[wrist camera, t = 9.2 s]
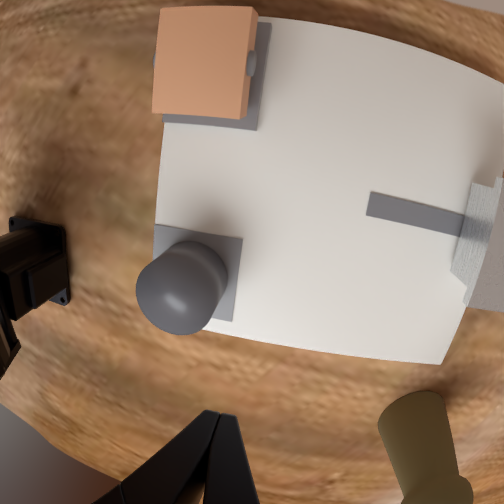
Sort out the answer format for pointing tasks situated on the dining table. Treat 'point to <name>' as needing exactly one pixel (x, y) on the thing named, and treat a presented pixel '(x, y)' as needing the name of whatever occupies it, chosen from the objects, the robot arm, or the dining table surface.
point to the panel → (336, 191)
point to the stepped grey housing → (482, 248)
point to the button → (182, 288)
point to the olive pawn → (423, 450)
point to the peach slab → (204, 60)
